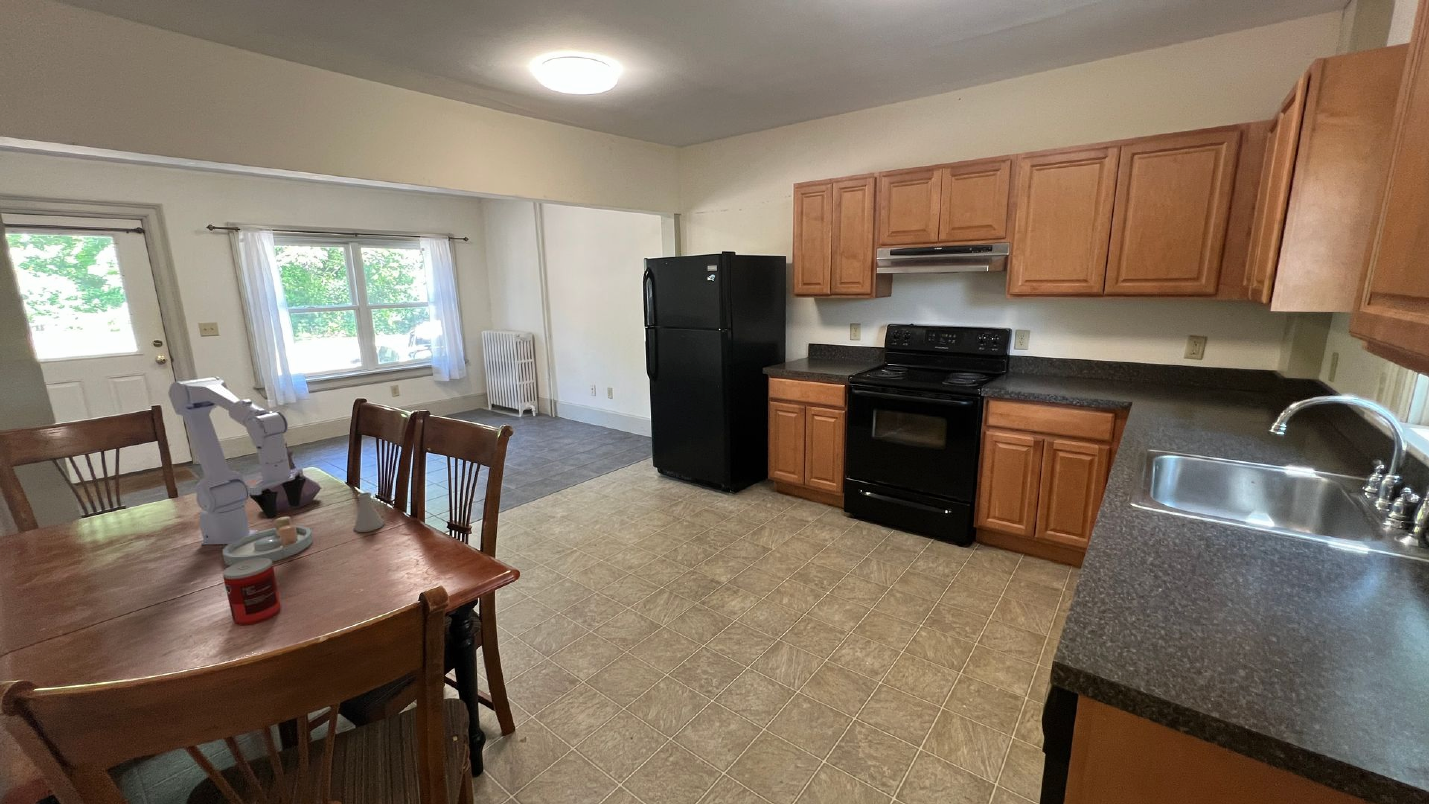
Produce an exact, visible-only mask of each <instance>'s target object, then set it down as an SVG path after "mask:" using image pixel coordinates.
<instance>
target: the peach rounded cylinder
mask: <svg viewBox="0 0 1429 804" xmlns="http://www.w3.org/2000/svg"><path fill="white" fill-rule="evenodd" d="M295 526H296V525H295V524H291V525H287V526H284V527H281V528H280V529H279V533H280V538H281V543H282V547H285V546H287V545H290V544H293V543H295V542H296V541H298V538H297V532H296V527H295Z"/></svg>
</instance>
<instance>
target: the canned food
mask: <svg viewBox="0 0 1429 804" xmlns="http://www.w3.org/2000/svg"><path fill="white" fill-rule="evenodd" d="M222 574H223V575H222V577H223V582H224V587H225V592H226V594H227V595H226V596H227V600H228V604H229V608H230V613H231V617H232V618H231V619H232V621H234V623H235V624H236V625H239V626H249V625H250V626H251V625H256V624H260V623H262V622H265V621H267V620H270V619H272V618H273V617H274V616H276V615H277V614H278V613H279V612H280V610H281V606H282V605H281V599H280V594H279V590H278V585H277V579H276V575H275V574H276V573H275V568H274V564H273V562H272V561H271V559H268V558H256V559H250V560H246V561H242V562H239V563H236V564H234V565H232V566H230V565H229V566H228V567H227V568H225V569H224V570H223V572H222Z"/></svg>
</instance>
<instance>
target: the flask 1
mask: <svg viewBox="0 0 1429 804" xmlns="http://www.w3.org/2000/svg"><path fill="white" fill-rule="evenodd" d="M285 445H286V450H287V455H288V461H289V466H290V470H292V469H295V468H297V467H296V465H295V463H294V461H293V457H292V455H293V453H294V451H293V450H292V449H290V448H288V444H287V442H285ZM300 477H305V478H306V482H305V483H304V486H303V488H302V492H301V498H300V505H299V506H290V505H289V502H288V499H287V495H286V492H285V490H284V488H283V486H282V485H281V484H280V485H278V486H275V487H273V488H271V489H269V491H270V490H271V492H278V494H277V498H276V508H277V511H290V510H294V509H299V508H303V507H305V506H307V505H309V504H311V503H312V501H314V499H315V497H316V496H317V495H318V494H319V492H320V491H321V490H322V487H321V486H320V484H319V483H318V482H316V481H314V480H312V479H310V478H309V477H307V476H305V475H304V474H303V476H300Z"/></svg>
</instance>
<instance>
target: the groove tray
mask: <svg viewBox="0 0 1429 804" xmlns="http://www.w3.org/2000/svg"><path fill="white" fill-rule="evenodd" d="M295 527H296V532H297V538H298V541H296V542H295V543H293V544H290V545H287V546H285V547H282V543H281V538H280V536H277V533H276V528H275V527H274V528H268V529H264V530H261V531H259V532H256V533H253V534H250V535H247V536H245V537H242V538H239V539H237V540H235V541H234V542H232V543H230V544H226V546H225V547H224V548H223V549H222V556H223V560H224V564H225V565H227V566H229V567H230V566H232V565H234V564H236V563H239V562H242V561H246V560H250V559H256V558H268V559H271V561H272V563H273V562H277V561H279V560H283V559H286V558H289V557H291V556H293V555H296V554H298V553H300V552H301V551H303V550H305V549H306V548H308V547H310V546H311V544H312V543H313V541H314V537H313V533H312V532H313V531H312V529H310V527H308V526H303V525H295Z"/></svg>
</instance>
